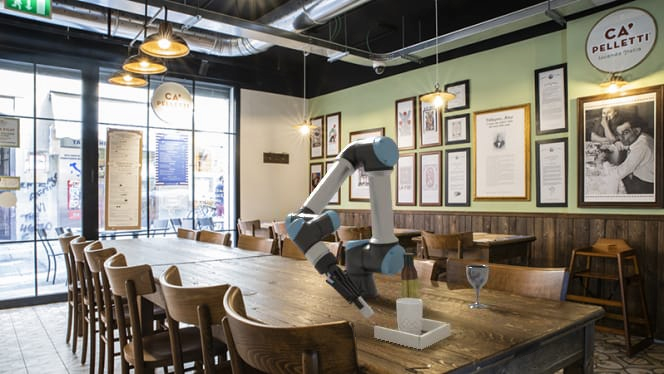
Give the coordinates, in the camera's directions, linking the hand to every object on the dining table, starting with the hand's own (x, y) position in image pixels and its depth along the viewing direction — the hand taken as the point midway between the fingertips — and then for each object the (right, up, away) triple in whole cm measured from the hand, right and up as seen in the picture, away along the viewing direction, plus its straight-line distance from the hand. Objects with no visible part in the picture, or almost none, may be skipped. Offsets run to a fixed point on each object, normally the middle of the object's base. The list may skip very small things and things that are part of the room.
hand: (370, 315), depth 139 cm
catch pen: (+12, -4, -7) cm, 14 cm away
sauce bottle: (+17, -5, +29) cm, 34 cm away
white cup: (+11, -4, -5) cm, 13 cm away
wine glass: (+43, -5, +29) cm, 52 cm away
